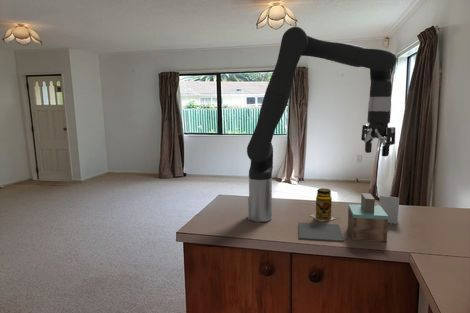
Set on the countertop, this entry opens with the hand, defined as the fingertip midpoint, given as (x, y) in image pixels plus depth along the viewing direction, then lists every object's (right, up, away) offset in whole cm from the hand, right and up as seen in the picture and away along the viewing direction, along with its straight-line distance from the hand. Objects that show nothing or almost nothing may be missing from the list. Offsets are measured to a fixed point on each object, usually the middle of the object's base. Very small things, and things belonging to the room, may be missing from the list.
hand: (376, 154), depth 119 cm
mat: (-21, -28, -1) cm, 35 cm away
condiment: (-16, -26, +15) cm, 34 cm away
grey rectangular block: (+8, -27, +9) cm, 29 cm away
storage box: (-5, -29, -4) cm, 29 cm away
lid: (-5, -21, -5) cm, 22 cm away
